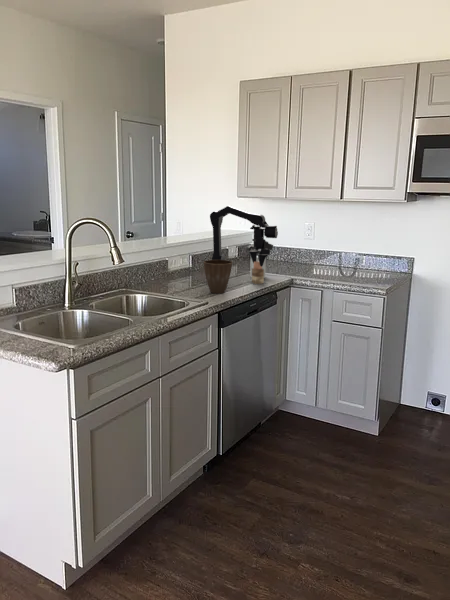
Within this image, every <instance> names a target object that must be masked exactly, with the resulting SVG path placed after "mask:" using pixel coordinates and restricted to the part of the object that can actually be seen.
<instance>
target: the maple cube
mask: <svg viewBox="0 0 450 600" xmlns="http://www.w3.org/2000/svg"><path fill="white" fill-rule="evenodd" d="M251 281H252V282H253V283H255V284H258V285H261V284H260V283H264V282H265V278H264V276H261V277H255V276H252V277H251Z"/></svg>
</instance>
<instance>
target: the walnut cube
mask: <svg viewBox="0 0 450 600" xmlns="http://www.w3.org/2000/svg"><path fill="white" fill-rule="evenodd" d="M252 276H255V277H261V276H264V269H260V270H256V269H254V268H252Z"/></svg>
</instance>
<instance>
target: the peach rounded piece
mask: <svg viewBox="0 0 450 600" xmlns="http://www.w3.org/2000/svg"><path fill="white" fill-rule="evenodd" d="M254 269H256V270H260V269H262V266H260V263H259V261H254Z"/></svg>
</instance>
